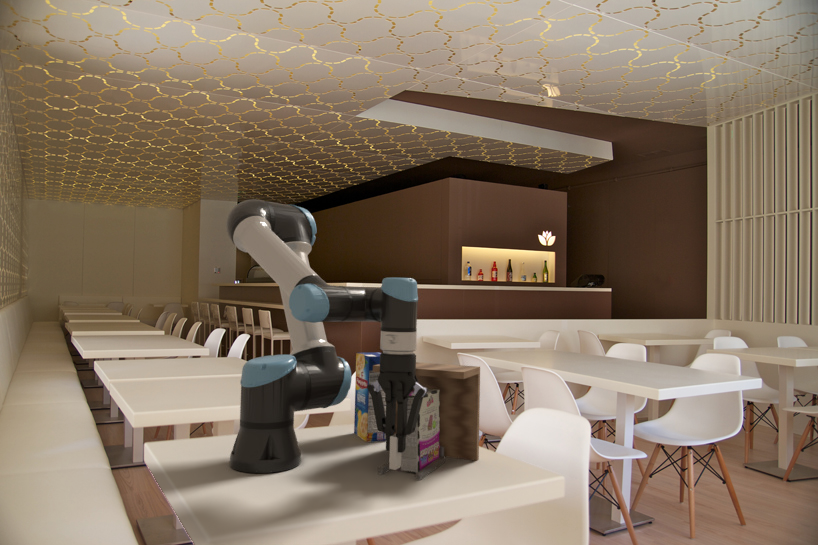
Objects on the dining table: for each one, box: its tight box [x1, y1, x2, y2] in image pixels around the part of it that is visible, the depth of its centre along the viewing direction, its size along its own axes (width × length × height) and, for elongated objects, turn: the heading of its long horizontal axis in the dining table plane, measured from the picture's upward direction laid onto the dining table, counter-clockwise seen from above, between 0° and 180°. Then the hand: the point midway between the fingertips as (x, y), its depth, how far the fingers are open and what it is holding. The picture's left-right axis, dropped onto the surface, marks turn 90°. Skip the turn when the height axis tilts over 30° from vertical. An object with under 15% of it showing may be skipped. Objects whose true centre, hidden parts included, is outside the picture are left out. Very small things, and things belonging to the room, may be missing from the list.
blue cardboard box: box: [353, 351, 386, 443], centre depth 154 cm, size 7×11×22 cm, turn 23°
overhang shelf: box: [373, 361, 481, 481], centre depth 128 cm, size 22×21×22 cm
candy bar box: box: [399, 389, 440, 474], centre depth 127 cm, size 11×5×16 cm, turn 153°
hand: (395, 467), depth 117 cm, fingers closed
